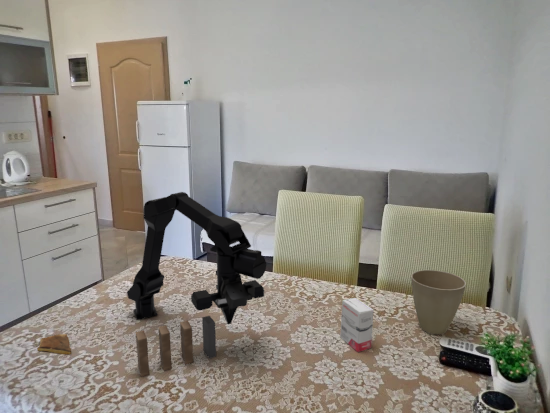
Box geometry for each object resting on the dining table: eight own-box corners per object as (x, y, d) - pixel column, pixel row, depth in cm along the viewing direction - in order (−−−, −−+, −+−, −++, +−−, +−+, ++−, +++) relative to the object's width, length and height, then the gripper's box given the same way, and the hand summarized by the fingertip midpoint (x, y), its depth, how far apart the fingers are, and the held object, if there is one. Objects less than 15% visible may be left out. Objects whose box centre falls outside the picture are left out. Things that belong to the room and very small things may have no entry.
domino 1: (141, 376, 98) (138, 340, 96) (138, 367, 102) (135, 332, 99) (149, 374, 99) (146, 338, 97) (146, 365, 102) (143, 330, 100)
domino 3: (185, 364, 103) (184, 329, 101) (181, 356, 106) (180, 322, 104) (193, 362, 104) (191, 327, 102) (189, 354, 107) (187, 320, 105)
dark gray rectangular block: (208, 358, 106) (207, 324, 103) (203, 351, 109) (202, 317, 107) (216, 356, 107) (215, 322, 104) (210, 348, 110) (209, 315, 108)
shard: (72, 356, 107) (71, 350, 106) (38, 365, 103) (37, 359, 102) (67, 337, 116) (67, 331, 115) (37, 345, 112) (36, 339, 111)
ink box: (372, 348, 111) (375, 309, 108) (357, 352, 109) (360, 313, 106) (353, 333, 118) (355, 296, 116) (339, 337, 116) (341, 299, 114)
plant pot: (466, 327, 122) (473, 278, 118) (448, 348, 111) (454, 294, 108) (419, 311, 132) (423, 265, 128) (398, 328, 121) (402, 279, 118)
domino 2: (163, 370, 100) (161, 334, 98) (160, 362, 104) (158, 327, 102) (171, 368, 101) (169, 332, 99) (168, 359, 105) (166, 325, 103)
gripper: (202, 287, 94) (204, 347, 98) (273, 274, 102) (273, 329, 106) (189, 271, 104) (191, 326, 107) (255, 260, 112) (255, 311, 116)
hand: (228, 323), depth 109 cm, fingers closed
